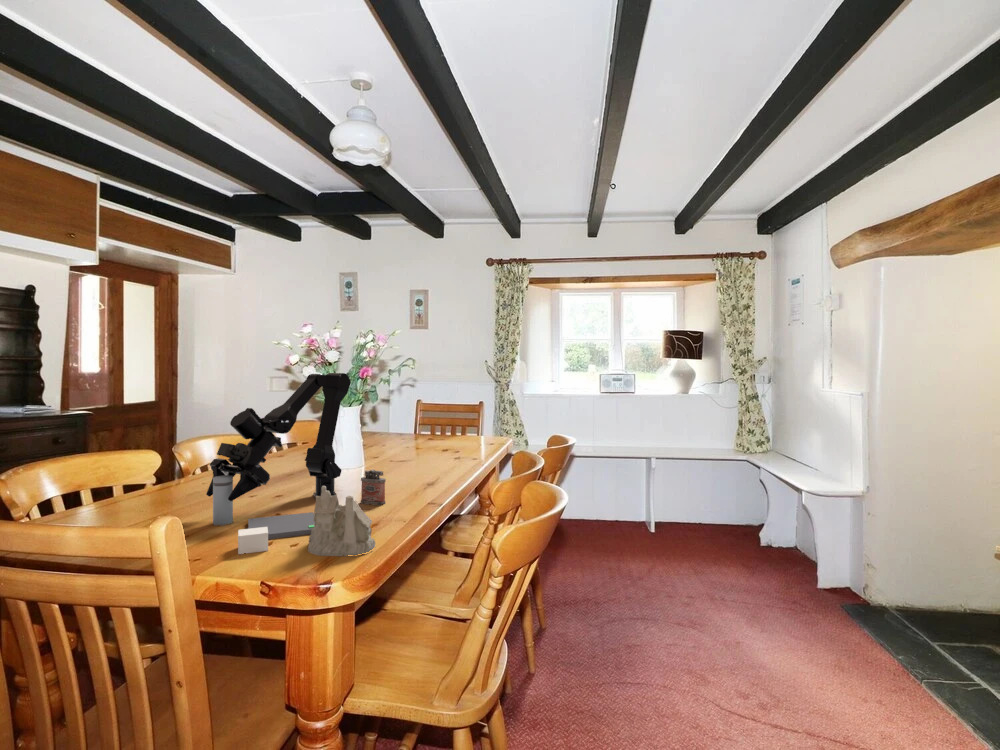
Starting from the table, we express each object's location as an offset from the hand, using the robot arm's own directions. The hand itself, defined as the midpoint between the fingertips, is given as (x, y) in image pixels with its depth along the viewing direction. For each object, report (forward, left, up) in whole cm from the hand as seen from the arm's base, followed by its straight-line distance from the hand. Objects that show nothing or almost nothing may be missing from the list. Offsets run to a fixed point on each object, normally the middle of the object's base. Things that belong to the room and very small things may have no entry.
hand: (218, 497), depth 139 cm
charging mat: (+15, +14, -7) cm, 21 cm away
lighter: (-6, +41, -7) cm, 42 cm away
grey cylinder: (-1, +1, -7) cm, 7 cm away
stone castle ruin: (+29, +27, -7) cm, 41 cm away
